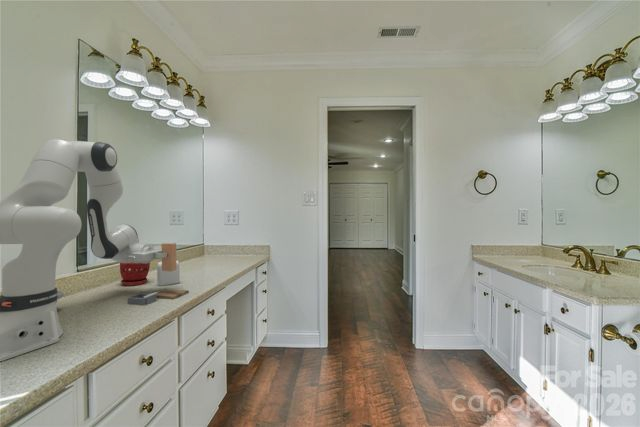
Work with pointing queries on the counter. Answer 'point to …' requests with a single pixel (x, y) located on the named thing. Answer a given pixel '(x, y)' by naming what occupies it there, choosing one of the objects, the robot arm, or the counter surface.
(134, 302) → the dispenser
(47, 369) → the counter surface
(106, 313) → the counter surface
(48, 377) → the counter surface
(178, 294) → the pad
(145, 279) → the plant pot
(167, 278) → the photo printer
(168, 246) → the tan rectangular prism
